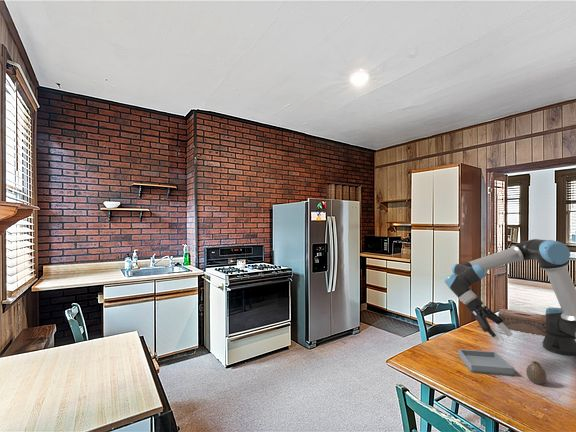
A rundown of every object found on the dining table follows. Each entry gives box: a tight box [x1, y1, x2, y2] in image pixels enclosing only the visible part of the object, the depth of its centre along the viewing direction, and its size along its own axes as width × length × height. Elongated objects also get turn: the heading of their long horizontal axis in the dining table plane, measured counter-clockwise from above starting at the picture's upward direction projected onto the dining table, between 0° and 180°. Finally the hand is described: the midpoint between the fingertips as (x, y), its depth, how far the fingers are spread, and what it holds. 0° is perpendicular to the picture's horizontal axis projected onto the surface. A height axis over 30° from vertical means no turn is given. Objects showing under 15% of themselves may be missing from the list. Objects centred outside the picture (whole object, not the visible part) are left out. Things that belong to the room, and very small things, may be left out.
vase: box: [526, 360, 547, 385], centre depth 132 cm, size 7×7×9 cm
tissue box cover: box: [497, 308, 546, 337], centre depth 196 cm, size 26×14×10 cm, turn 50°
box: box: [457, 348, 515, 377], centre depth 148 cm, size 18×18×4 cm
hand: (506, 339), depth 141 cm, fingers open, 13 cm apart
